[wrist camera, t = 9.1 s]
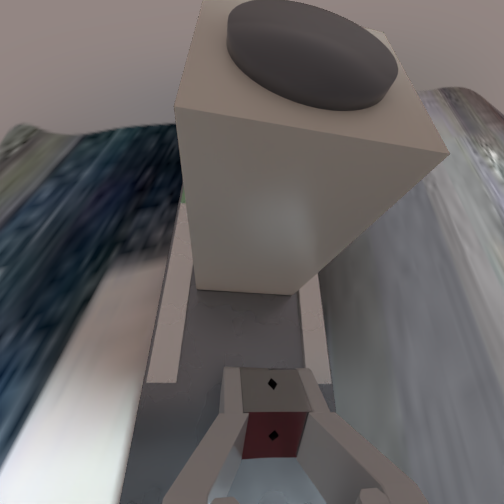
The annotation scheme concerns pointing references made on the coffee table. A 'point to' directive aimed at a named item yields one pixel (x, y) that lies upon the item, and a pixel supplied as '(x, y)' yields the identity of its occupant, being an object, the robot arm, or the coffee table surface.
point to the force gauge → (291, 141)
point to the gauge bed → (219, 376)
